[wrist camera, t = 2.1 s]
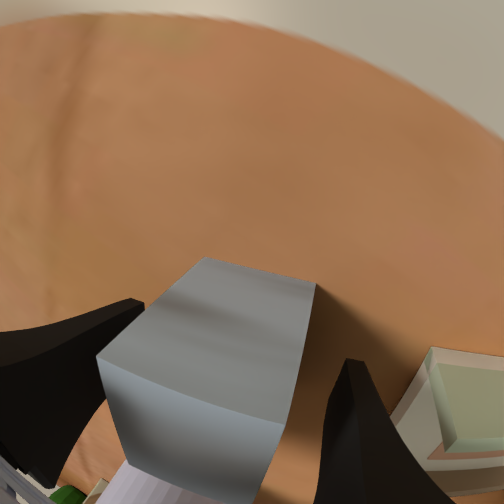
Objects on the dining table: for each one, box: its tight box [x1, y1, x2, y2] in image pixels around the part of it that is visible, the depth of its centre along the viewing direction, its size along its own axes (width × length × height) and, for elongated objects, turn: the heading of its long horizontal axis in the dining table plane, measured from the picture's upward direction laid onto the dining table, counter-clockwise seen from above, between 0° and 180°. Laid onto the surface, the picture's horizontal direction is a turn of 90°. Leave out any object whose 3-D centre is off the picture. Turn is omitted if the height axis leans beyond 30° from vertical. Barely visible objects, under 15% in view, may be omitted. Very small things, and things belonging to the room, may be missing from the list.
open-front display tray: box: [390, 346, 504, 497], centre depth 8 cm, size 8×12×4 cm, turn 82°
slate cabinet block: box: [96, 257, 316, 504], centre depth 9 cm, size 5×4×6 cm
